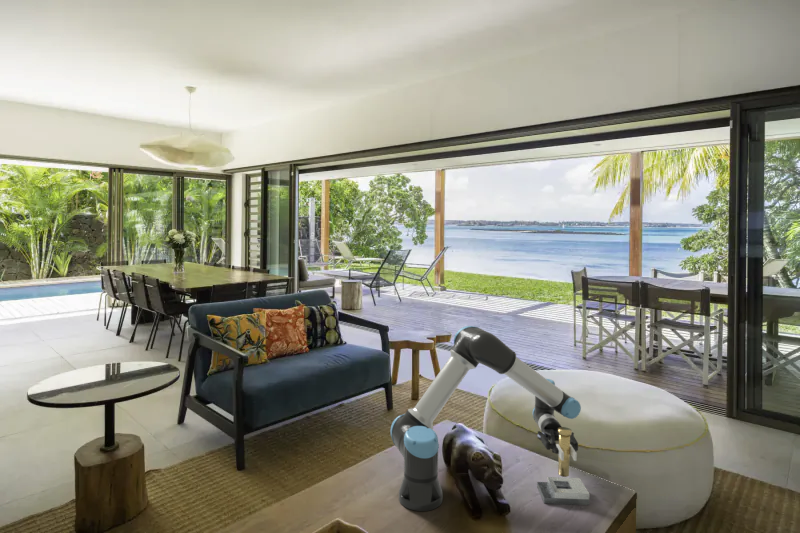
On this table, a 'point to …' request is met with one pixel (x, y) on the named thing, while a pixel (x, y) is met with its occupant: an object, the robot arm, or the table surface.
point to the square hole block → (563, 491)
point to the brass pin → (564, 450)
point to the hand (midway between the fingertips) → (569, 456)
